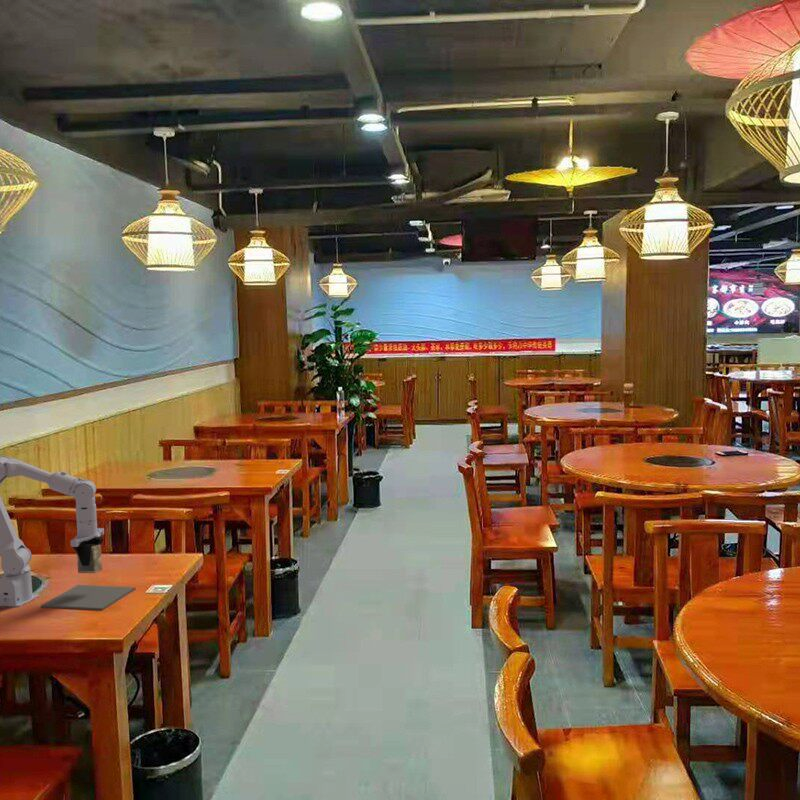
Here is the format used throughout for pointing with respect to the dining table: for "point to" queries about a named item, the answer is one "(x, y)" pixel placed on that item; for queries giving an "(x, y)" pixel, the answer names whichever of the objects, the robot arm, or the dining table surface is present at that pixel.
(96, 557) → the light wood block
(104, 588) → the mat
